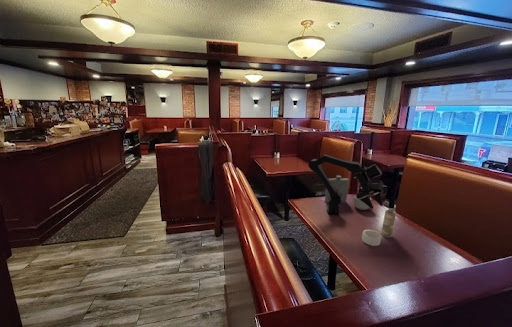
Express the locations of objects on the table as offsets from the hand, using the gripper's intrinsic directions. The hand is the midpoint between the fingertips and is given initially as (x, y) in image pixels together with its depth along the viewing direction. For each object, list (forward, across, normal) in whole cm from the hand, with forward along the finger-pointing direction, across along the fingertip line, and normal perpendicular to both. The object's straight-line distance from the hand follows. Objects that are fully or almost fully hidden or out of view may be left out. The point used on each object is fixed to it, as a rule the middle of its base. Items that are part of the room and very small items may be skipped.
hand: (377, 207), depth 127 cm
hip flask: (-13, +10, +35) cm, 38 cm away
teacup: (-3, +19, +23) cm, 30 cm away
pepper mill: (+15, -2, +2) cm, 15 cm away
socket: (+15, -14, +3) cm, 20 cm away
